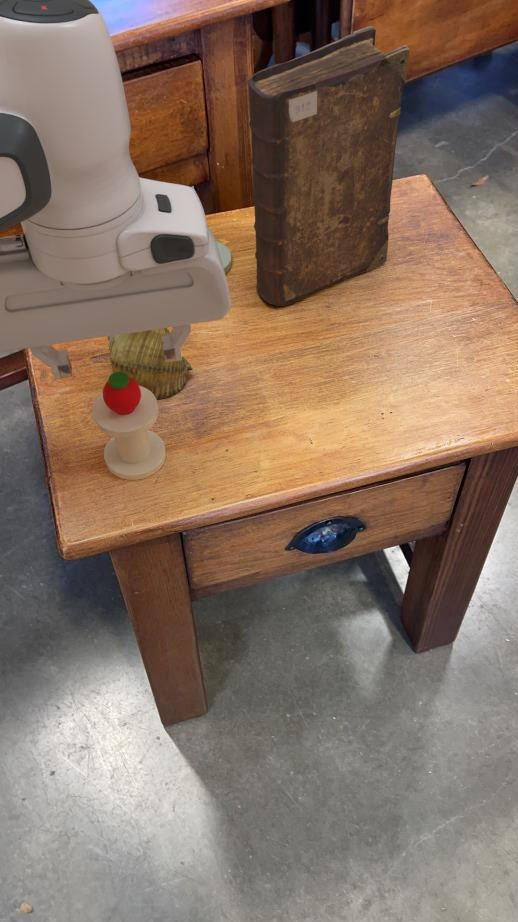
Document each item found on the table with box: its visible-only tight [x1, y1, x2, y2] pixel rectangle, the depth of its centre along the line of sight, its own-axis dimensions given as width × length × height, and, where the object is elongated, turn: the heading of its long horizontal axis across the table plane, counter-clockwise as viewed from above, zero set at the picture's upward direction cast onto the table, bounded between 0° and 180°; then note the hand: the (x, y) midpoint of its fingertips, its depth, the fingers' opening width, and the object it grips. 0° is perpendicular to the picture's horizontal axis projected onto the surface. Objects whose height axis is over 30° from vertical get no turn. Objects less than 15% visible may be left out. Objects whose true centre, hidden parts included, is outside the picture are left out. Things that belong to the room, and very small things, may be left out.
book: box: [247, 25, 410, 307], centre depth 88 cm, size 17×7×25 cm, turn 121°
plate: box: [216, 240, 233, 275], centre depth 99 cm, size 7×7×1 cm
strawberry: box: [102, 372, 141, 415], centre depth 74 cm, size 3×3×4 cm
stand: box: [91, 386, 167, 481], centre depth 79 cm, size 6×6×7 cm
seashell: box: [107, 328, 193, 400], centre depth 87 cm, size 10×7×8 cm
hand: (118, 365), depth 72 cm, fingers open, 8 cm apart
